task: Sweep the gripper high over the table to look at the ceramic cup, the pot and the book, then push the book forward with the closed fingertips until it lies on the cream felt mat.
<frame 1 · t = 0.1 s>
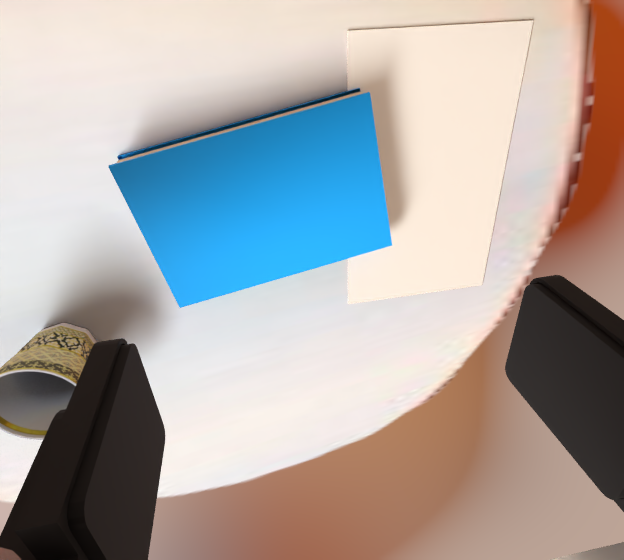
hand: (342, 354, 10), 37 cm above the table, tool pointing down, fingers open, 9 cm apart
book: (263, 198, 46), on the table, touching mat
mat: (427, 181, 48), on the table
ceramic cup: (57, 347, 51), on the table
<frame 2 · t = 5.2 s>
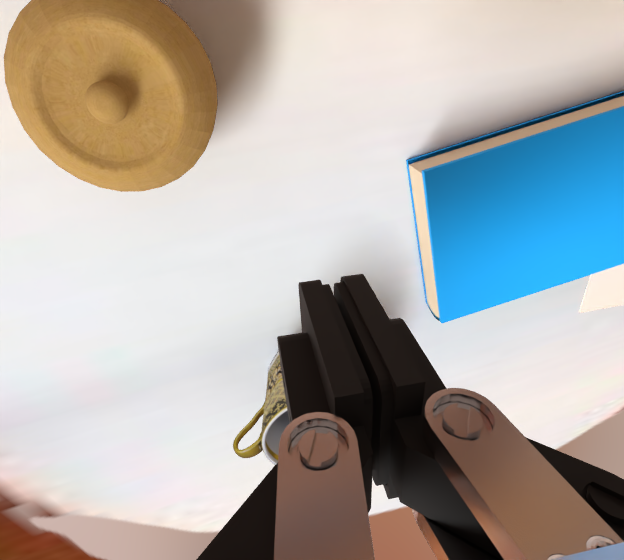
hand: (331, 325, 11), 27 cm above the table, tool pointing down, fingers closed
book: (532, 202, 42), on the table, touching mat
ceramic cup: (285, 368, 47), on the table
pot: (136, 86, 31), on the table
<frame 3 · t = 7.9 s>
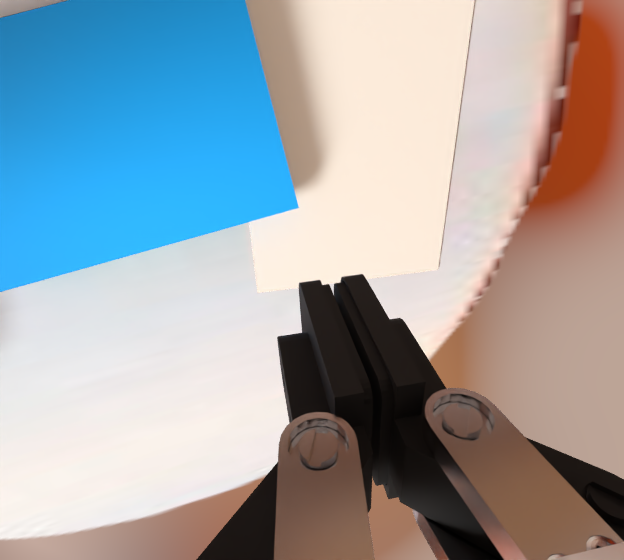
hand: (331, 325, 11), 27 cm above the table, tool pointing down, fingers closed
book: (113, 139, 32), on the table, touching mat
mat: (351, 121, 35), on the table
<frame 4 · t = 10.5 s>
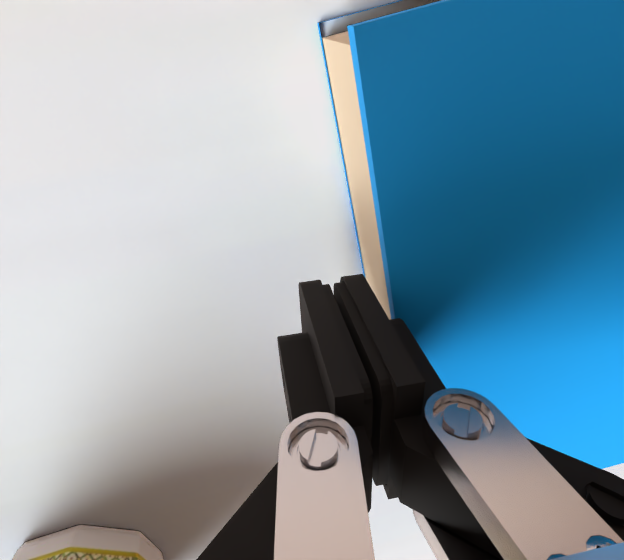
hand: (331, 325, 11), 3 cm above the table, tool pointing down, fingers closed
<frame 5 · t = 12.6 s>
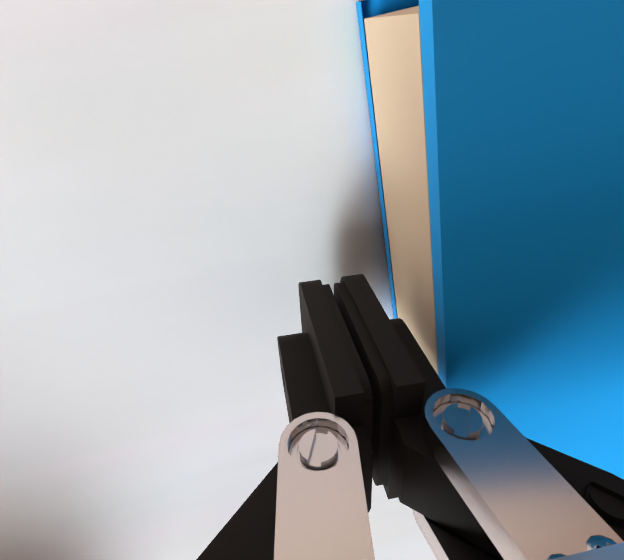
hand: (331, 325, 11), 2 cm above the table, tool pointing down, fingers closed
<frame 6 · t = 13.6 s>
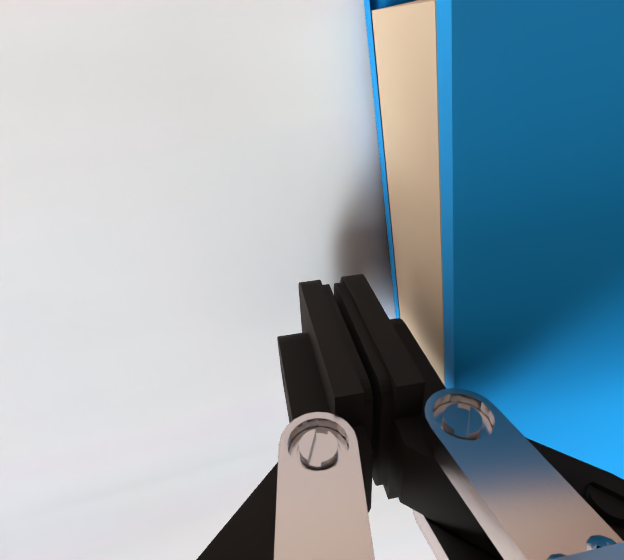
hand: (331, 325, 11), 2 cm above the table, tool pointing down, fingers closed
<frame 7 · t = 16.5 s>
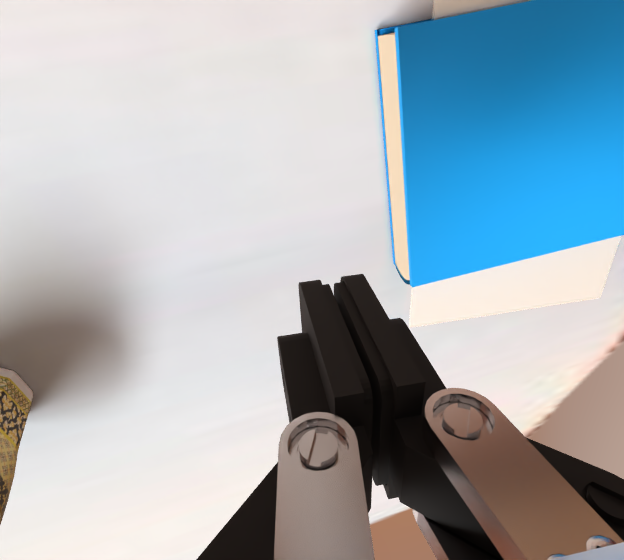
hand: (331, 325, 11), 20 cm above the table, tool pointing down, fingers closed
book: (546, 129, 31), resting on mat
mat: (543, 137, 31), on the table
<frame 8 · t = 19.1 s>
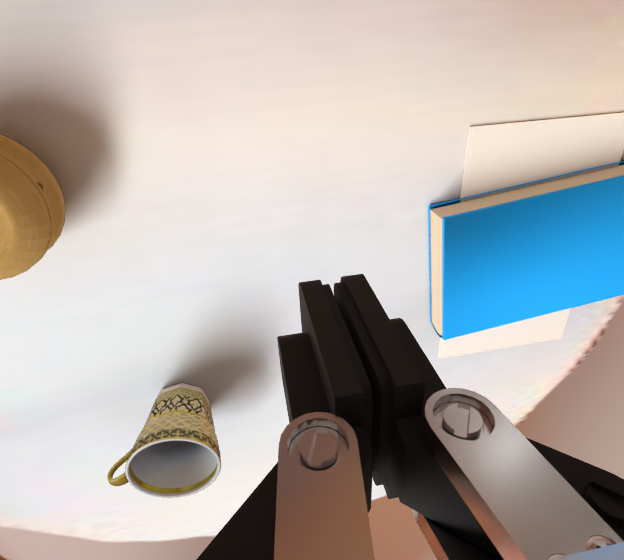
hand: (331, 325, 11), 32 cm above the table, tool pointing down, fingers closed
book: (524, 246, 51), resting on mat
mat: (523, 250, 51), on the table
ceramic cup: (171, 404, 54), on the table
pot: (6, 186, 38), on the table
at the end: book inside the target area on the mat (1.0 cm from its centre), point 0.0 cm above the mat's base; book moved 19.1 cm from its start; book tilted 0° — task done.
